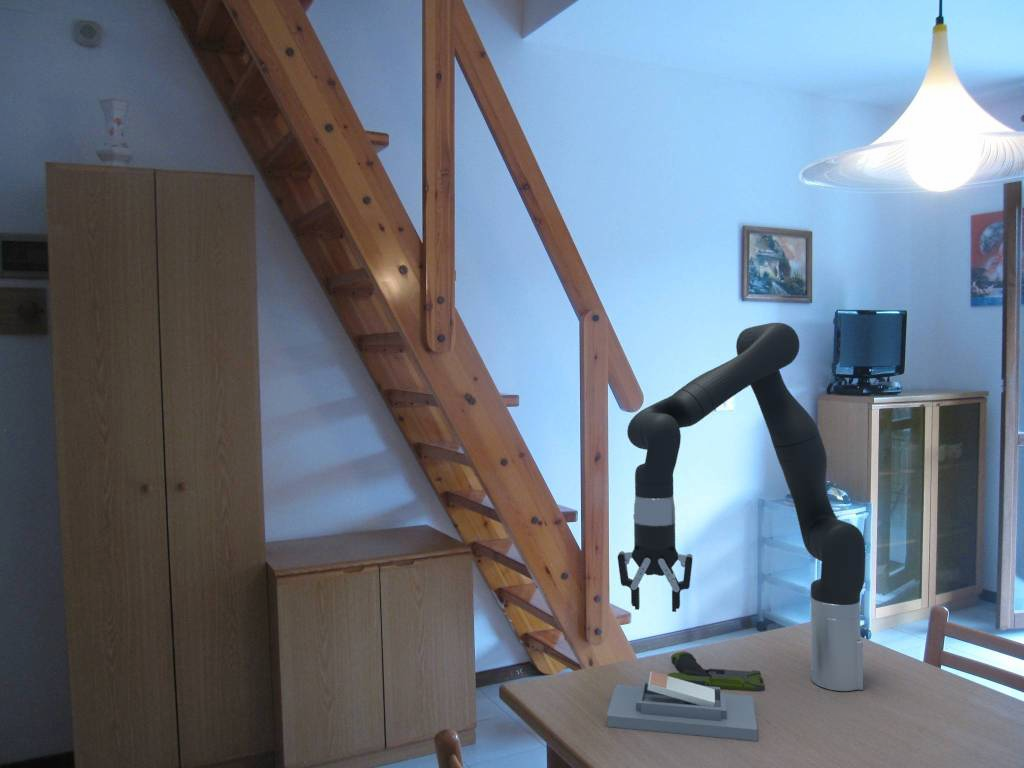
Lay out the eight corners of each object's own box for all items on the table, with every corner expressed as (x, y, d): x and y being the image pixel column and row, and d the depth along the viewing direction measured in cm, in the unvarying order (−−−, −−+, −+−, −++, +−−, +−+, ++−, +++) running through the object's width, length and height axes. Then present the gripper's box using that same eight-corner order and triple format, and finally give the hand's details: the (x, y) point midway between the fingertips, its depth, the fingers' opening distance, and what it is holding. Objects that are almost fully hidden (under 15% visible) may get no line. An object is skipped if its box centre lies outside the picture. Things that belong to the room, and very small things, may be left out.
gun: (757, 667, 168) (765, 697, 153) (668, 660, 172) (667, 690, 157) (757, 655, 168) (765, 685, 153) (668, 649, 172) (667, 677, 157)
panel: (752, 706, 147) (752, 685, 147) (757, 741, 134) (757, 718, 134) (615, 694, 154) (615, 674, 153) (606, 726, 140) (606, 704, 140)
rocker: (713, 695, 145) (714, 688, 145) (713, 709, 139) (715, 701, 139) (649, 677, 148) (650, 670, 148) (647, 689, 142) (648, 682, 142)
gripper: (694, 517, 146) (695, 605, 146) (617, 515, 149) (619, 601, 150) (693, 525, 139) (694, 618, 139) (613, 522, 142) (614, 613, 142)
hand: (655, 609), depth 144 cm, fingers open, 6 cm apart
